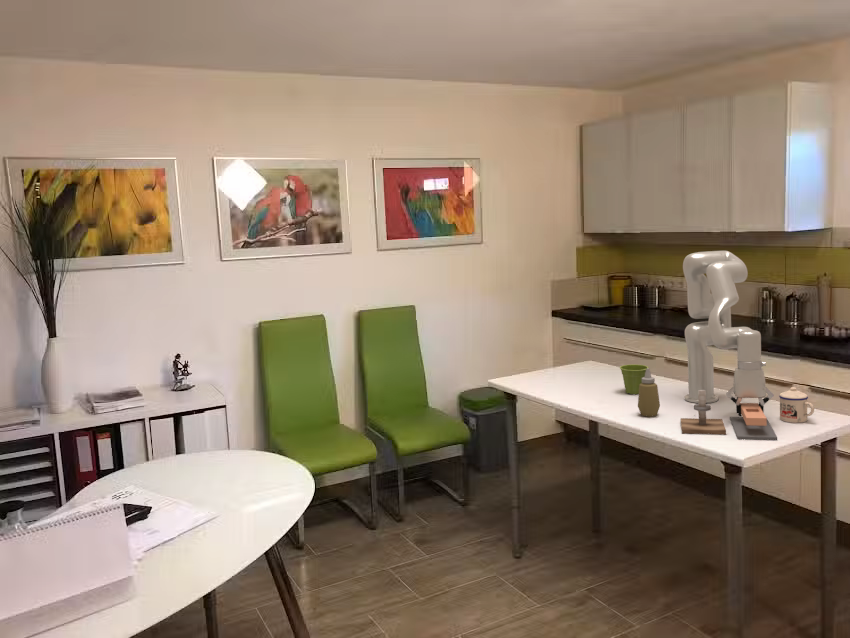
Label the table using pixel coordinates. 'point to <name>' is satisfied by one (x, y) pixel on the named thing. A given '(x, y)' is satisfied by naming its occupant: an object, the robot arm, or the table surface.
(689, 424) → the stand
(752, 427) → the mat
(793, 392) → the teacup with lid
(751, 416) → the link
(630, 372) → the plant pot
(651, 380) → the squeeze bottle
